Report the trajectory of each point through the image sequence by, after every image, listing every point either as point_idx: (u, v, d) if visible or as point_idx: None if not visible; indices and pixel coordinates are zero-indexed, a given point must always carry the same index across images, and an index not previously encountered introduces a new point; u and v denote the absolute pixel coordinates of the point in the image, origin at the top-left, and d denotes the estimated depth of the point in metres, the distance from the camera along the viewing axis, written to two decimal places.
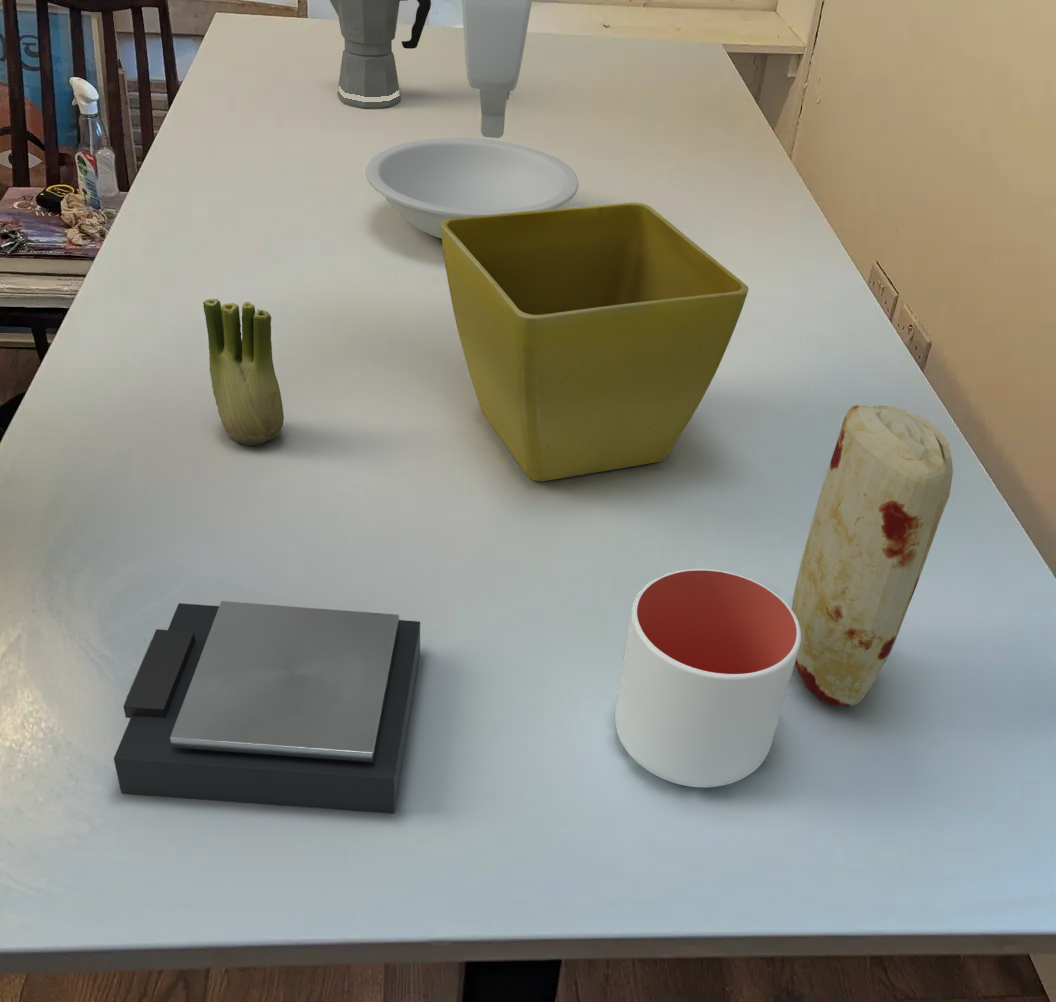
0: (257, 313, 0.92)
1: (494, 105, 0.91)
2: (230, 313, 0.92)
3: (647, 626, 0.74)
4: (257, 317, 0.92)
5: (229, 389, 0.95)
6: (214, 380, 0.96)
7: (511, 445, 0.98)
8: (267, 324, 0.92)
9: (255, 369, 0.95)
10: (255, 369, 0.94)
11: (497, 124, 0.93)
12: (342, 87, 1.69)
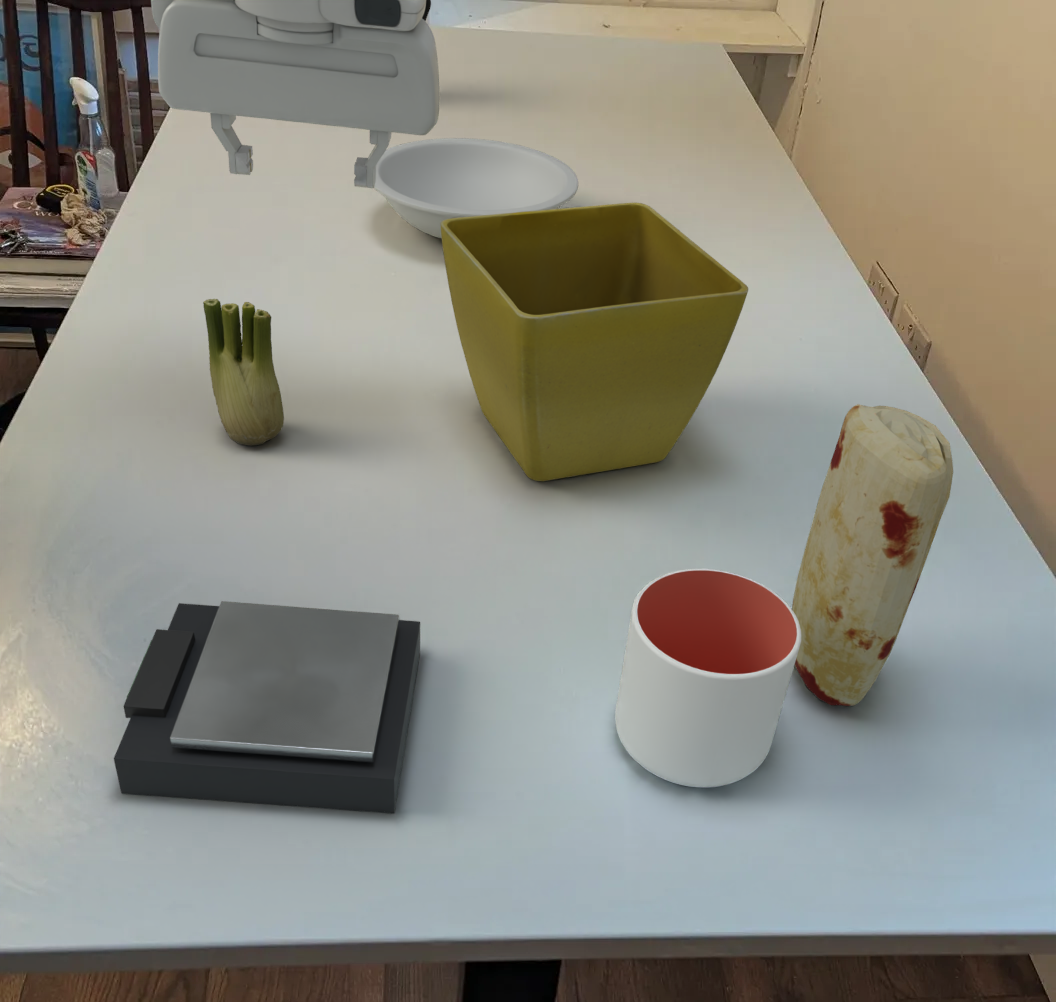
0: (257, 313, 0.92)
1: None
2: (230, 313, 0.92)
3: (647, 626, 0.74)
4: (257, 317, 0.92)
5: (229, 389, 0.95)
6: (214, 380, 0.96)
7: (511, 445, 0.98)
8: (267, 324, 0.92)
9: (255, 369, 0.95)
10: (255, 369, 0.94)
11: (375, 170, 0.90)
12: None
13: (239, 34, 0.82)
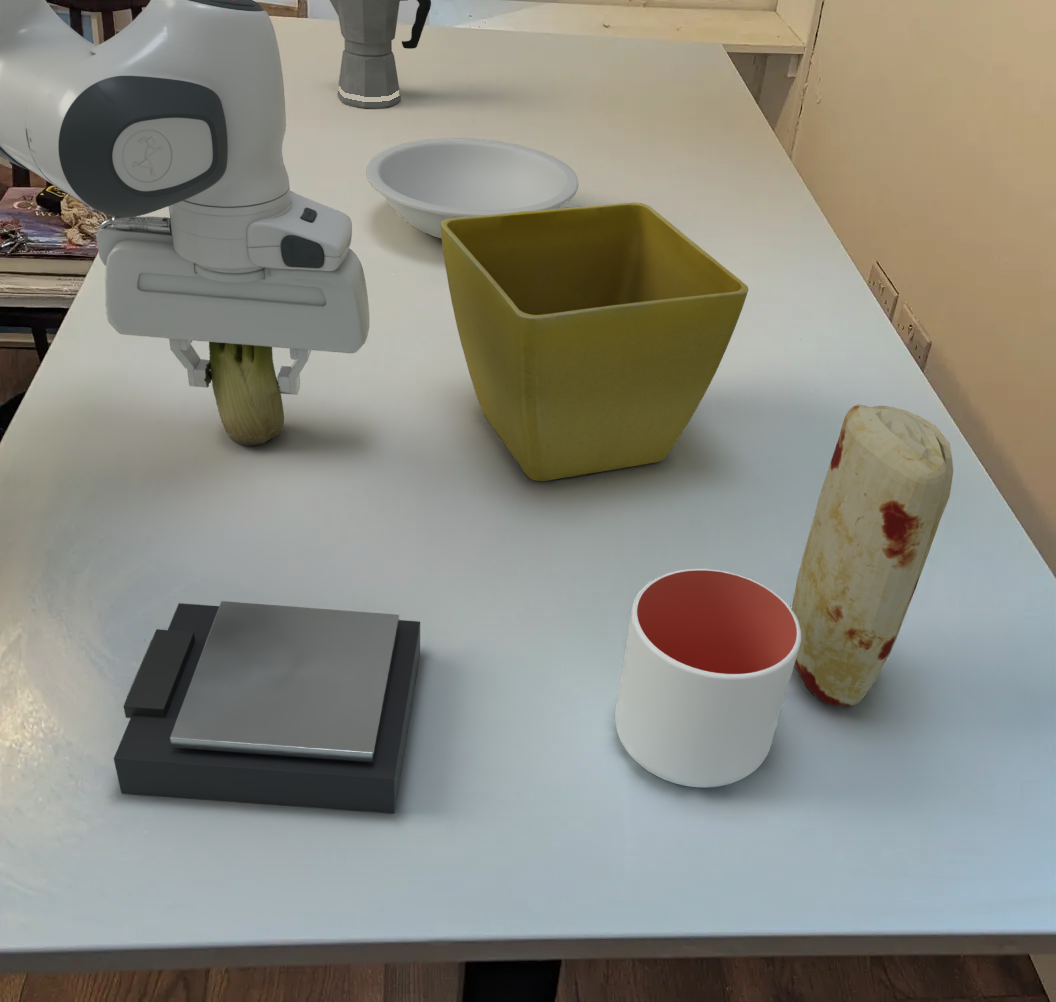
0: None
1: None
2: None
3: (647, 626, 0.74)
4: None
5: (230, 389, 0.96)
6: (214, 380, 0.96)
7: (511, 445, 0.98)
8: None
9: (256, 369, 0.95)
10: (256, 369, 0.95)
11: (298, 378, 0.97)
12: (342, 87, 1.69)
13: (178, 273, 0.89)
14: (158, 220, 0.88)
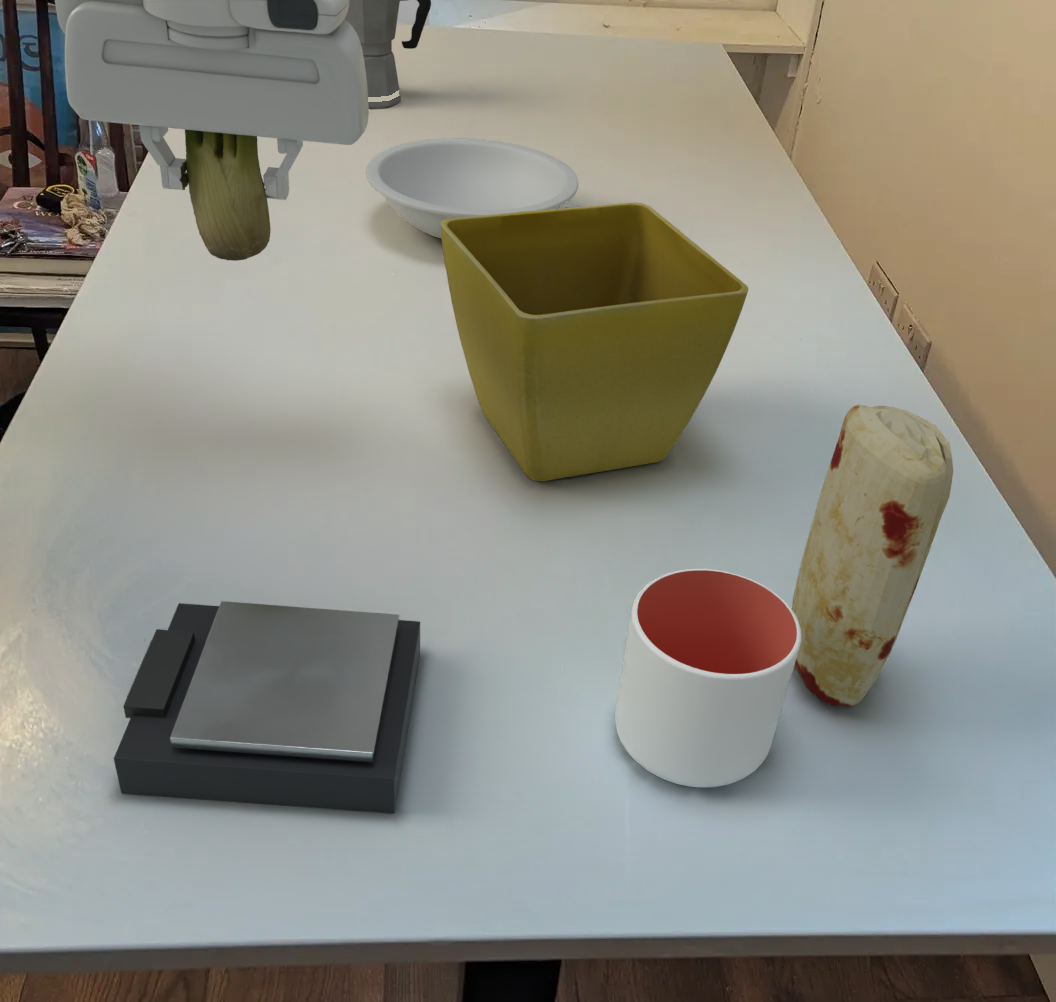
0: None
1: None
2: None
3: (647, 626, 0.74)
4: None
5: (209, 190, 0.84)
6: (192, 182, 0.85)
7: (511, 445, 0.98)
8: None
9: (238, 166, 0.83)
10: (238, 165, 0.83)
11: (287, 181, 0.85)
12: None
13: (149, 40, 0.77)
14: None
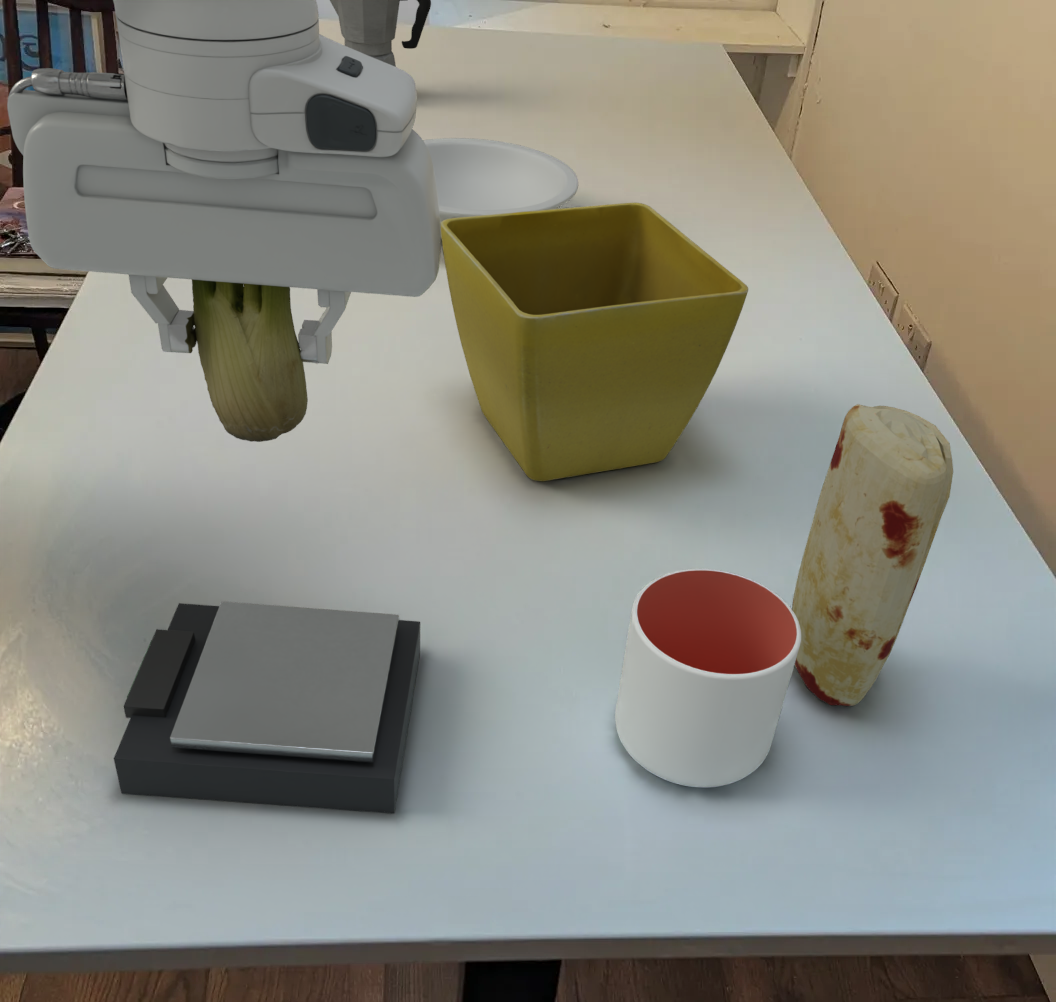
0: None
1: None
2: None
3: (647, 626, 0.74)
4: None
5: (225, 355, 0.62)
6: (201, 341, 0.63)
7: (511, 445, 0.98)
8: None
9: (265, 324, 0.61)
10: (265, 323, 0.61)
11: (330, 338, 0.63)
12: None
13: (140, 165, 0.55)
14: (106, 77, 0.54)
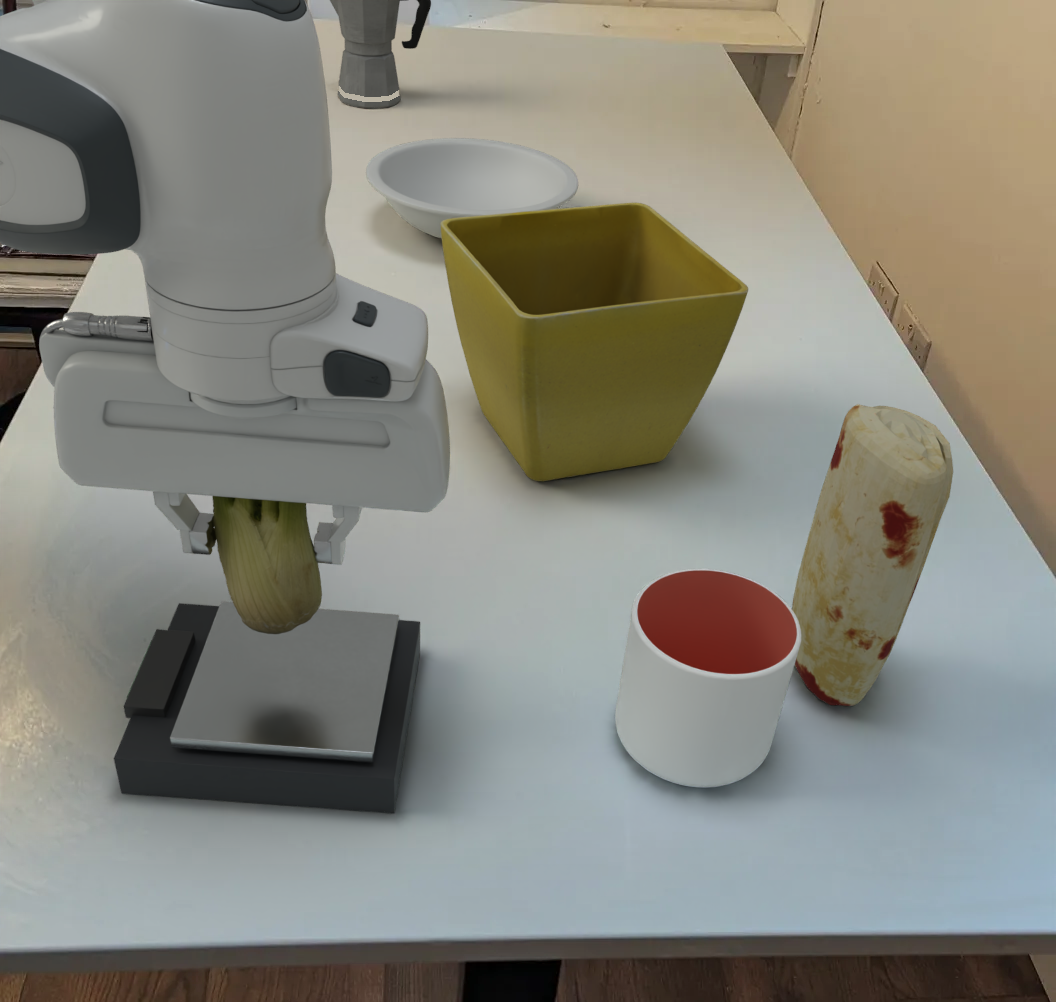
0: None
1: None
2: None
3: (647, 626, 0.74)
4: None
5: (243, 559, 0.65)
6: (221, 543, 0.66)
7: (511, 445, 0.98)
8: None
9: (282, 533, 0.64)
10: (282, 532, 0.64)
11: (344, 539, 0.66)
12: (342, 87, 1.69)
13: (165, 401, 0.58)
14: (133, 322, 0.57)
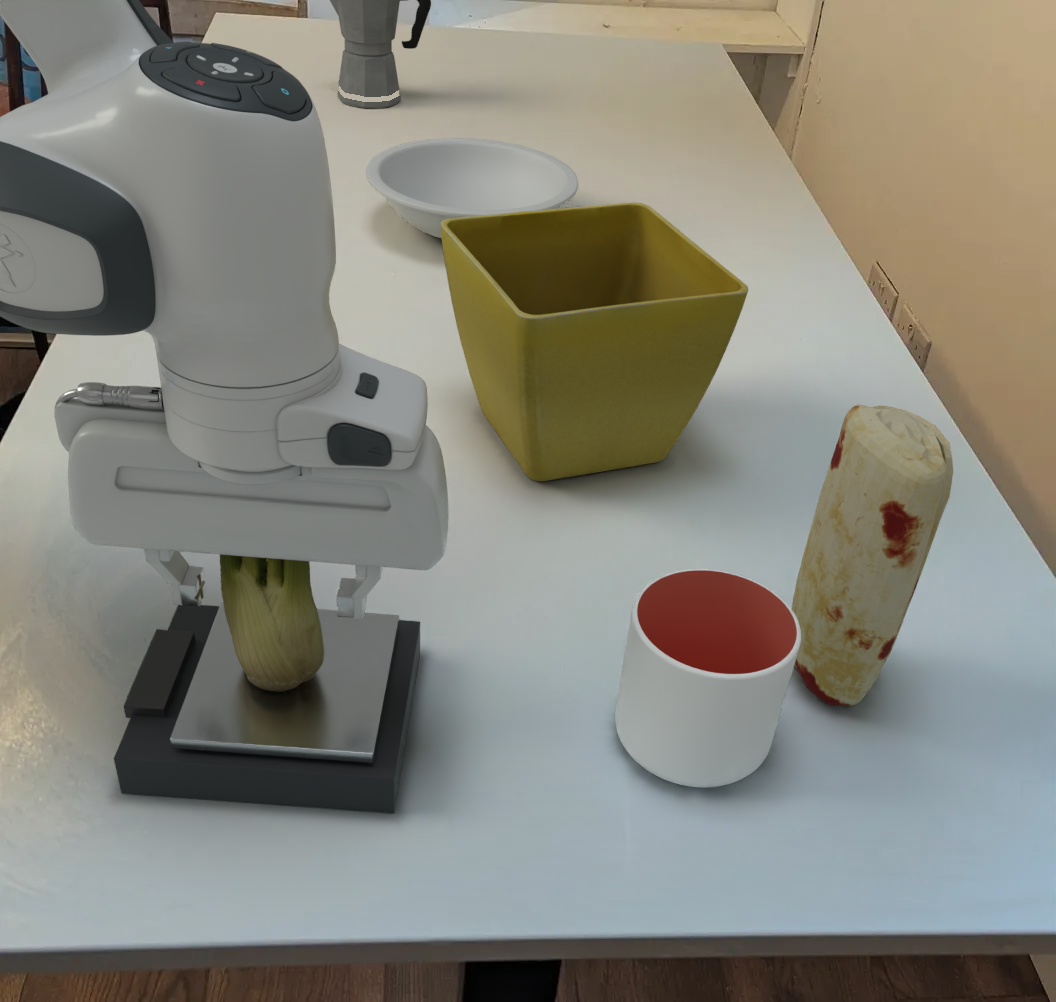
0: None
1: None
2: None
3: (647, 626, 0.74)
4: None
5: (249, 622, 0.68)
6: (228, 605, 0.68)
7: (511, 445, 0.98)
8: None
9: (286, 597, 0.67)
10: (286, 596, 0.67)
11: None
12: (342, 87, 1.69)
13: (175, 467, 0.61)
14: (145, 392, 0.60)
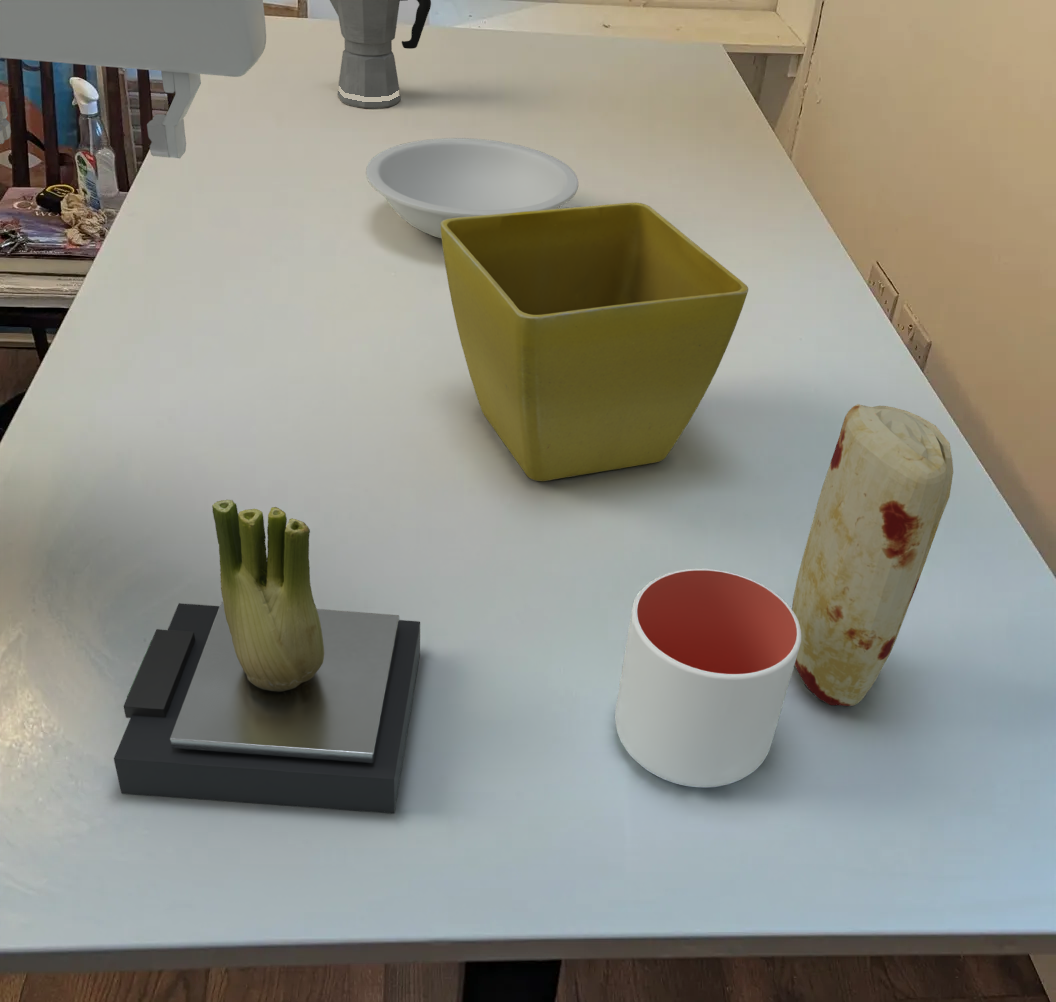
0: (290, 526, 0.64)
1: (188, 104, 0.62)
2: (251, 525, 0.64)
3: (647, 626, 0.74)
4: (290, 533, 0.64)
5: (249, 622, 0.68)
6: (228, 605, 0.68)
7: (511, 445, 0.98)
8: (305, 541, 0.64)
9: (286, 597, 0.67)
10: (286, 596, 0.66)
11: (182, 133, 0.63)
12: (342, 87, 1.69)
13: None
14: None
